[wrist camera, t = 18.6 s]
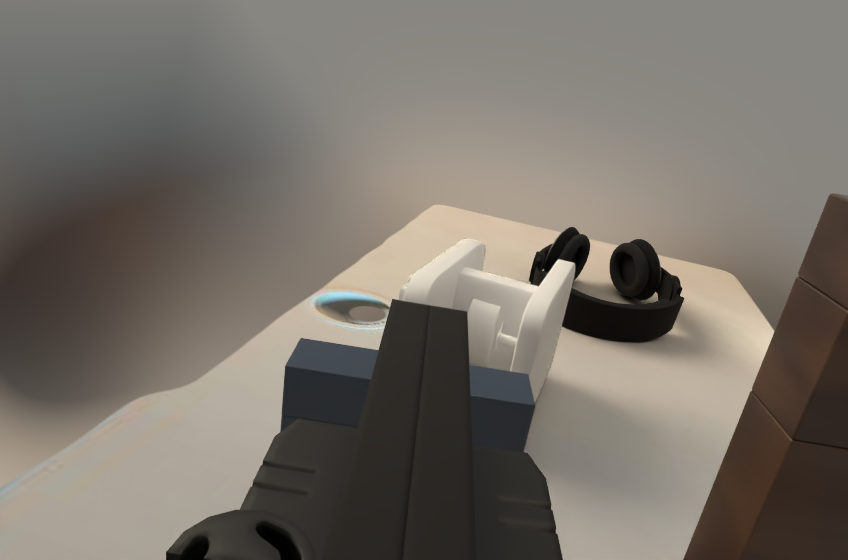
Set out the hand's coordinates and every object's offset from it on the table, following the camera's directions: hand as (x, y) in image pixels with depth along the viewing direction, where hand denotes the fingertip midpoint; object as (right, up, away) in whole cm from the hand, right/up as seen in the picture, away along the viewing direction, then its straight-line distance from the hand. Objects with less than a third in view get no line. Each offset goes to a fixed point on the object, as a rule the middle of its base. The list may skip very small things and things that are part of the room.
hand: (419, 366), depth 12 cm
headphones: (+21, -2, +62) cm, 66 cm away
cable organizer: (+4, -8, +39) cm, 40 cm away
